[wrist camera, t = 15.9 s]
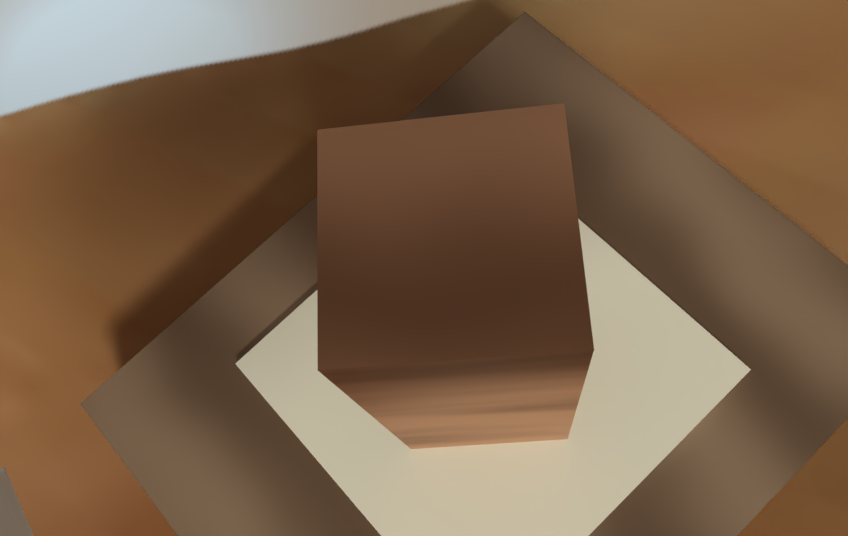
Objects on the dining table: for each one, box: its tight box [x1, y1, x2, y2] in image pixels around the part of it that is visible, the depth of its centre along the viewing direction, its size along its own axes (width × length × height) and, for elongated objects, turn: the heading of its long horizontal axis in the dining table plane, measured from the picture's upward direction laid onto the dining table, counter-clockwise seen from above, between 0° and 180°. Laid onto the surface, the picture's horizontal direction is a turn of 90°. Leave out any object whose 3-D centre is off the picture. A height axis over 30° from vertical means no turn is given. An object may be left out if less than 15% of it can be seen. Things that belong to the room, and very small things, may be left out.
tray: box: [81, 12, 848, 536], centre depth 29 cm, size 22×18×4 cm
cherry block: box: [317, 103, 594, 449], centre depth 21 cm, size 5×5×12 cm
